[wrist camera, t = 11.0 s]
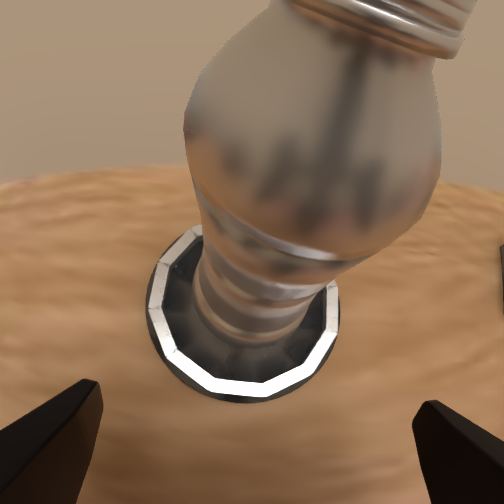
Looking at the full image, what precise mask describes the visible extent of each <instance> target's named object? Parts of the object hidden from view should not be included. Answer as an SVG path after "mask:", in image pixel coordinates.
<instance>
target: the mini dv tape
mask: <svg viewBox="0 0 504 504" xmlns="http://www.w3.org/2000/svg"><path fill="white" fill-rule="evenodd" d="M500 253H501V264H502V277H503V300H504V244H503V245H502V246H501V247H500Z"/></svg>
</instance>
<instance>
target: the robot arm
mask: <svg viewBox="0 0 504 504" xmlns="http://www.w3.org/2000/svg"><path fill="white" fill-rule="evenodd" d="M102 413H103V399H102V394H101V389H100V385H99V383H98V382H97V381H94V380H90V379H82V380H80V381H78V382H77V383H75V384H74V385H72V386H71V387H69V388H67V389H66V390H64V391H63V392H61V393H59V394H58V395H56V396H55V397H53V398H52V399H50V400H48V401H47V402H45V403H44V404H42V405H40V406H39V407H37V408H36V409H34V410H32V411H31V412H29V413H28V414H26V415H24V416H23V417H21V418H20V419H18V420H16V421H15V422H13V423H12V424H10V425H8V426H7V427H5V428H3V429H2V430H0V504H76V501H77V498H78V495H79V492H80V490H81V487H82V484H83V481H84V478H85V475H86V472H87V470H88V467H89V464H90V461H91V458H92V454H93V450H94V446H95V441H96V437H97V433H98V429H99V425H100V421H101V417H102ZM412 429H413V433H414V438H415V442H416V447H417V452H418V457H419V462H420V466H421V470H422V473H423V477H424V480H425V483H426V487H427V490H428V493H429V497H430V500H431V504H504V441H502V440H500V439H499V438H497V437H495V436H494V435H492V434H491V433H489V432H487V431H486V430H484V429H482V428H481V427H479V426H478V425H476V424H474V423H473V422H471V421H470V420H468V419H466V418H465V417H463V416H462V415H460V414H458V413H457V412H455V411H454V410H452V409H450V408H449V407H447V406H446V405H444V404H442V403H441V402H439V401H438V400H429V401H425V402H424V403H423V404H422V405H421V407H420V409H419V410H418V412H417V414H416V415H415V417H414V419H413V421H412Z"/></svg>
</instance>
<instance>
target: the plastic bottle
mask: <svg viewBox="0 0 504 504" xmlns="http://www.w3.org/2000/svg"><path fill="white" fill-rule="evenodd" d="M476 2H477V0H271V2H270V4H269V7H268V8H267V9H266V10H264V11H263V12H262V13H261V14H259V15H258V16H257V17H255V18H254V19H253V20H252V21H251V22H249V23H248V24H247V25H246V26H245V27H243V28H242V29H241V30H240V31H239V32H237V33H236V34H235V35H234V36H233V37H232V38H231V39H230V40H229V41H228V42H227V43H226V44H225V45H224V46H223V47H222V48H221V49H220V50H219V51H218V53H217V54H216V55H215V56H214V57H213V58H212V60H211V61H210V62H209V63H208V64H207V65H206V67H205V68H204V69H203V70H202V72H201V74H200V76H199V78H198V80H197V82H196V84H195V87H194V89H193V92H192V94H191V97H190V100H189V102H188V105H187V108H186V110H185V115H184V125H183V132H184V139H185V148H186V156H187V160H188V165H189V169H190V173H191V176H192V181H193V185H194V189H195V193H196V197H197V201H198V205H199V209H200V213H201V222H202V234H203V251H202V256H201V258H200V260H199V263H198V265H197V267H196V270H195V274H194V278H193V283H192V298H193V303H194V307H195V309H196V312H197V314H198V316H199V318H200V319H201V321H202V322H203V324H204V325H205V326H206V328H207V329H208V330H209V331H210V332H212V333H213V334H214V335H215V336H216V337H217V338H219V339H220V340H222V341H224V342H225V343H227V344H230V345H233V346H235V347H240V348H246V349H260V348H266V347H270V346H274V345H276V344H278V343H280V342H282V341H284V340H285V339H286V338H288V337H289V336H290V335H292V334H293V332H294V331H295V330H296V329H297V328H298V326H299V325H300V323H301V321H302V320H303V318H304V316H305V314H306V312H307V310H308V307H309V304H310V303H311V301H312V300H313V298H314V297H315V295H316V294H317V293H318V292H319V291H320V290H321V289H323V288H324V287H325V286H326V285H327V284H329V283H330V282H331V281H332V280H334V279H335V278H336V277H337V276H339V275H340V274H342V273H344V272H346V271H347V270H349V269H351V268H352V267H354V266H356V265H357V264H359V263H361V262H363V261H364V260H366V259H368V258H369V257H371V256H373V255H374V254H376V253H377V252H379V251H380V250H382V249H384V248H386V247H388V246H389V245H390V244H391V243H393V242H394V241H395V240H396V239H398V238H399V237H400V236H401V235H403V234H404V233H405V232H407V231H408V230H409V229H410V228H411V227H412V226H413V225H414V224H415V223H417V222H418V221H419V220H420V219H421V217H422V215H423V213H424V211H425V209H426V207H427V205H428V203H429V201H430V199H431V196H432V194H433V191H434V189H435V186H436V184H437V181H438V179H439V176H440V167H441V121H440V114H439V108H438V102H437V96H436V91H435V86H434V81H433V76H432V69H433V65H434V62H435V58H441V59H453V58H454V57H455V56H456V55H457V53H458V51H459V49H460V47H461V45H462V43H463V41H464V36H463V34H462V33H461V32H462V31H463V29H464V27H465V24H466V23H467V21H468V18H469V17H470V14H471V12H472V10H473V8H474V6H475V4H476Z"/></svg>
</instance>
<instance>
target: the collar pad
mask: <svg viewBox="0 0 504 504" xmlns="http://www.w3.org/2000/svg"><path fill="white" fill-rule="evenodd" d="M202 251H203V234H202V224H200V225H197V226H194V227H191V229H188V230H187V231H186V233H184V234H183V235H181V236H180V237H179V238H178V239H176V240H175V241H174V242H173V243H172V244H171V245H170V246H169V247H168V248H167V250H166V251H165V252H164V253H163V254H162V256H161V258H160V259H159V261H158V262H157V264H156V266H155V268H154V270H153V273H152V275H151V278H150V281H149V285H148V288H147V295H146V318H147V325H148V329H149V332H150V336H151V339H152V341H153V343H154V345H155V348H156V350H157V352H158V353H159V355H160V356H161V358H162V359H163V361H164V362H165V364H166V365H167V366H168V367H169V368H170V370H171V371H172V372H173V373H174V374H175V375H176V376H178V377H179V378H180V379H181V380H182V381H183V382H185V383H186V384H188V385H189V386H191V387H192V388H194V389H195V390H197V391H199V392H201V393H203V394H205V395H207V396H210V397H213V398H216V399H219V400H224V401H229V402H235V403H255V402H264V401H268V400H272V399H276V398H279V397H281V396H284V395H286V394H289V393H291V392H292V391H294V390H296V389H298V388H299V387H301V386H302V385H303V384H305V383H306V382H307V381H309V380H310V379H311V378H312V377H313V376H314V375H315V374H316V373H317V372H318V371H319V370H320V368H321V367H322V366H323V364H324V363H325V361H326V360H327V359H328V357H329V355H330V353H331V351H332V349H333V347H334V344H335V341H336V338H337V335H338V330H339V325H340V301H339V296H338V287H336V286H337V284H336V282H335V280H332V281H331V282H330V283H329V284H327V285H326V286H325V287H324V288H323V289H321V290H320V291H319V292H318V293H317V294H316V295H315V297H314V298H313V300H312V301H311V303H310V304H309V307H308V310H307V312H306V314H305V316H304V318H303V320H302V321H301V323H300V325H299V326H298V328H297V329H296V330H295V331H294V332H293V334H292V335H290V336H289V337H288V338H286V339H285V340H284V341H282V342H280V343H278V344H276V345H274V346H270V347H266V348H260V349H246V348H240V347H235V346H233V345H230V344H227V343H225V342H224V341H222V340H220V339H219V338H217V337H216V336H215V335H214V334H213V333H212V332H210V331H209V330H208V329H207V328H206V326H205V325H204V324H203V322H202V321H201V319H200V318H199V316H198V314H197V312H196V309H195V307H194V303H193V298H192V283H193V278H194V274H195V270H196V267H197V265H198V263H199V260H200V258H201V256H202Z"/></svg>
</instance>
